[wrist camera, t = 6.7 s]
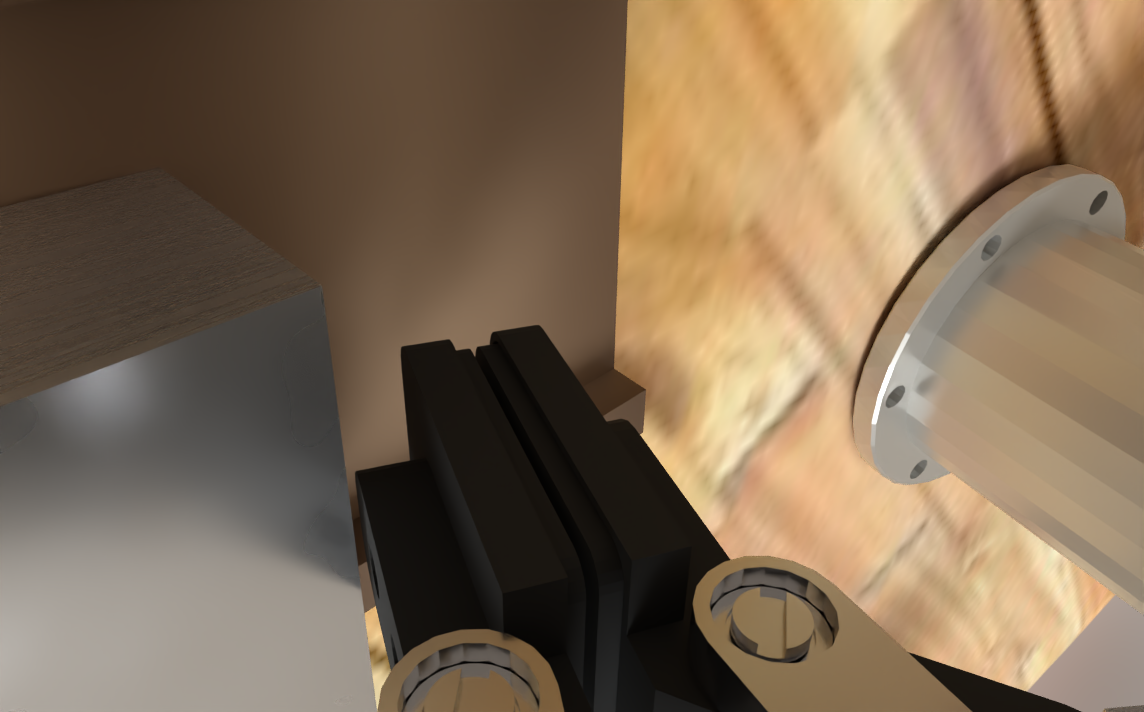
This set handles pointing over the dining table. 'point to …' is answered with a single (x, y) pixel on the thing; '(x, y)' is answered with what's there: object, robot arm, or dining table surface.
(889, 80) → the dining table surface
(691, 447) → the dining table surface
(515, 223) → the seesaw beam
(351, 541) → the steel slab
